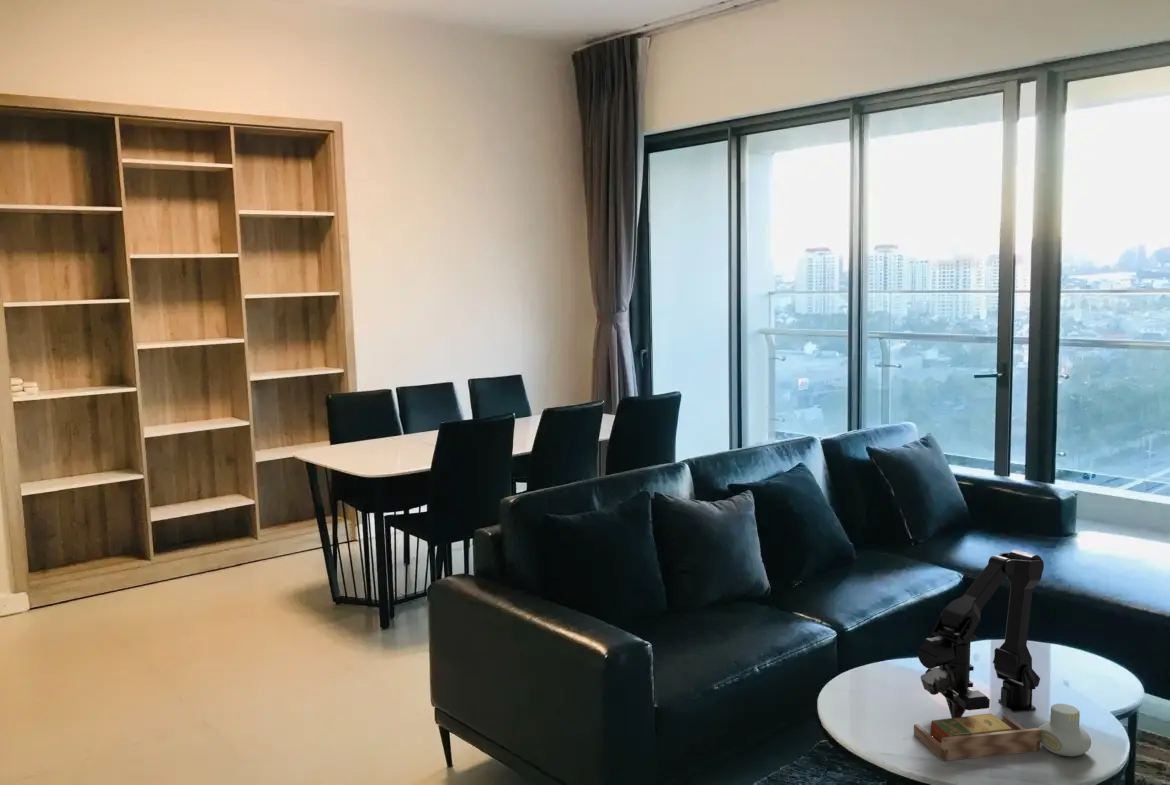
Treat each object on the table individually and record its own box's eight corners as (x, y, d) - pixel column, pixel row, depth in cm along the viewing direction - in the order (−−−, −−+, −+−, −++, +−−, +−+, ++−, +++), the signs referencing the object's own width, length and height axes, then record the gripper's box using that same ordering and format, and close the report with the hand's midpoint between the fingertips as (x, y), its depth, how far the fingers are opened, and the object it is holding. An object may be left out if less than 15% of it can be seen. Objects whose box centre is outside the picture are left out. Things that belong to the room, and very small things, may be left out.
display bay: (1005, 725, 230) (1006, 705, 230) (1040, 750, 217) (1041, 729, 217) (913, 734, 226) (914, 714, 226) (943, 760, 213) (943, 739, 213)
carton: (1012, 745, 221) (1013, 728, 220) (949, 753, 218) (949, 735, 217) (990, 729, 229) (991, 712, 228) (929, 736, 226) (930, 718, 225)
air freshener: (1097, 758, 214) (1099, 715, 213) (1069, 765, 211) (1071, 721, 210) (1057, 736, 224) (1059, 696, 223) (1030, 743, 221) (1032, 702, 220)
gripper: (906, 648, 236) (904, 708, 238) (947, 678, 218) (946, 743, 220) (947, 644, 238) (945, 704, 240) (992, 673, 220) (989, 738, 222)
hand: (955, 721), depth 230 cm, fingers closed
